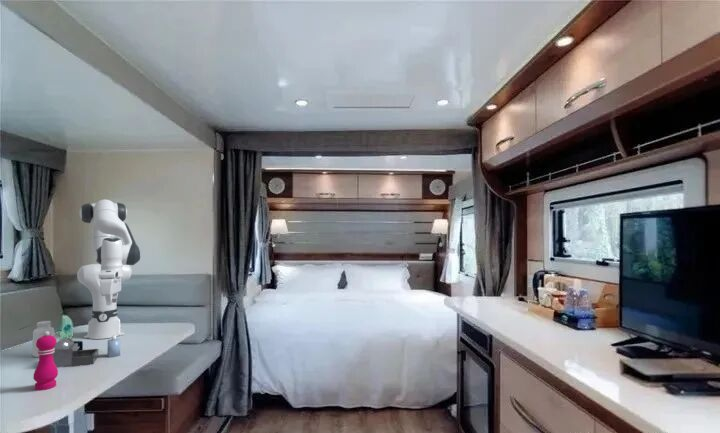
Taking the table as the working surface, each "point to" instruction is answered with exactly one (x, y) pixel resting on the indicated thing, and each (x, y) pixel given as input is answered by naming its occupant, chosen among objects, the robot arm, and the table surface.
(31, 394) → the table surface
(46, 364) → the pepper mill
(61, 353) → the dark grey piece
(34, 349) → the pill bottle
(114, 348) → the light blue bottle
